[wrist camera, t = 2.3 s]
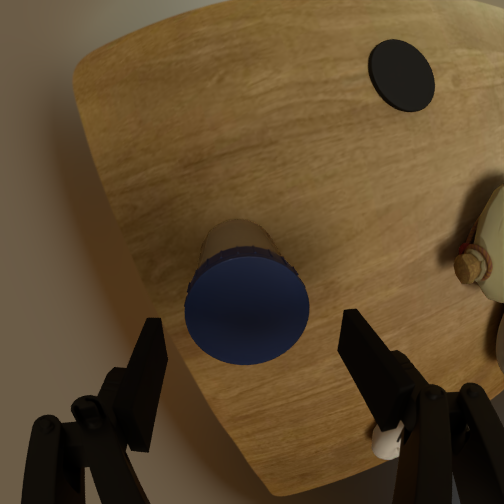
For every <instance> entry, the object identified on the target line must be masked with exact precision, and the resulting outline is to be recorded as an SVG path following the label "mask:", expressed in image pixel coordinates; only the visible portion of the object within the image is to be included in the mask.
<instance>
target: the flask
mask: <svg viewBox="0 0 504 504" xmlns="http://www.w3.org/2000/svg"><path fill="white" fill-rule="evenodd" d="M476 229H477V230H476ZM475 231H476V235H475V240H474V244H470V243H471V240H472V238H473V235H474V233H475ZM454 269H455V274H456V276H457V277H458V279H459V280H460V282H461V283H462V284H470V283H473V281H476V282H477V283H478V285H479V286H480V288H481V290H482V291H483V293H484V294H485V296H486V297H487V298H488V299H490V300H494V301H497V302H500V303H504V183H503V184H502V185H501V186H499V187H498V188H497V189H495V190H494V191H493V193H492V195H491V197H490V199H489V201H488V202H487V204H486V206H485V208H484V210H483V211H482V213H481V215H480V216H479V217H478V219H477V220H476V222H475V223H474V225H473V227H472V229H471V231H470V233H469V235H468V237H467V240H466V243H462V245H461V246H460V247H459V255H457V257H456V258H455V262H454Z"/></svg>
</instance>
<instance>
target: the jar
mask: <svg viewBox="0 0 504 504" xmlns="http://www.w3.org/2000/svg"><path fill="white" fill-rule="evenodd" d="M252 245H254V246H255V247H260V248H264V249H267V250H268V249H270V251H272V252H274V253H276V254H278V255H279V256H281V257H282V255H281V253H280V252H279V250H278V248H277V247H276V245H275V243H274V242H273V240H272V238H271V237H270V235H269V234H268V233H267V231H266V230H265V229H264V228H262V227H261V226H260V225H258V224H256V223H254V222H252V221H248V220H243V219H234V220H229V221H225V222H223V223H221V224H219V225H217V226H216V227H214V228H213V229H212V230H211V231H210V232H209V233H208V234H207V236H206V237H205V239H204V241H203V243H202V246H201V250H200V255H199V259H198V264H197V270H198V269H199V268H200V266H201V265H202V264H203V263H204V262H205V261H206V259H207V258H208V259H209V258H210V257H212V256H213V255H215V254H217V253H219V252H220V251H221V250H222V251H224V250H226V249H229V248H234V247H236V246H238V247H241V246H252Z"/></svg>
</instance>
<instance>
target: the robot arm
mask: <svg viewBox="0 0 504 504" xmlns="http://www.w3.org/2000/svg"><path fill="white" fill-rule="evenodd" d="M337 351H338V353H339V354H340V356H341V358H342V360H343V362H344V363H345V365H346V367H347V369H348V371H349V373H350V374H351V376H352V378H353V380H354V382H355V383H356V385H357V387H358V389H359V391H360V393H361V395H362V396H363V398H364V400H365V402H366V404H367V406H368V408H369V409H370V411H371V413H372V415H373V417H374V419H375V421H376V423H377V424H378V426H379V428H380V430H381V432H385V431H389V430H392V429H396V428H397V426H398V424H399V422H400V420H401V421H402V423H403V424H404V427H403V429H402V431H401V433H400V435H399V437H398V439H397V441H396V442H399V440H400V439H401V443H400V453H399V462H398V469H397V476H396V483H395V489H394V495H393V502H392V504H452V472H453V475H454V479H455V483H456V487H457V491H458V495H459V499H460V503H461V504H504V427H503V425H502V423H501V421H500V419H499V417H498V415H497V413H496V411H495V410H494V408H493V406H492V404H491V402H490V400H489V398H488V396H487V395H486V393H485V391H484V389H483V388H482V387H481V386H479V385H478V384H475V383H466V384H464V385H463V386H462V387H461V389H460V391H459V392H446V391H445V390H444V389H443V388H441V387H440V386H438V385H434V384H428V382H427V381H426V380H425V379H424V377H423V376H422V375H421V374H420V372H419V371H418V370H417V369H416V368H415V366H414V365H413V364H412V363H411V361H410V360H409V359H408V358H407V356H406V355H404V354H403V353H401V352H400V351H398V350H395V351H390V350H389V349H388V348H387V346H386V345H385V344H384V342H383V341H382V340H381V339H380V337H379V336H378V335H377V334H376V332H375V331H374V330H373V329H372V327H371V326H370V325H369V324H368V322H367V321H366V320H365V319H364V317H363V316H362V315H361V314H360V312H359V311H358V310H357V309H347V310H344V312H343V319H342V325H341V332H340V338H339V344H338V350H337ZM167 362H168V357H167V351H166V346H165V340H164V334H163V328H162V321H161V318H147V319H146V321H145V324H144V326H143V329H142V331H141V333H140V336H139V338H138V341H137V343H136V345H135V348H134V350H133V353H132V355H131V358H130V361H129V363H128V365H127V368H119V367H114V368H113V369H112V370H111V371H110V372H109V373H108V374H107V376H106V378H105V380H104V383H103V385H102V387H101V389H100V391H99V394H98V396H93V395H87V396H82V397H79V398H78V399H76V400H75V401H74V402H73V404H72V405H71V412H72V413H73V416H74V418H75V420H76V422H68V423H61V422H60V421H59V419H58V418H57V417H55V416H54V415H43V416H41V417H39V418H38V419H37V420H36V421H35V422H34V424H33V427H32V432H31V437H30V441H29V447H28V453H27V458H26V465H25V472H24V480H23V489H22V499H21V504H85V467H90V471H91V473H92V477H93V480H94V483H95V486H96V489H97V492H98V495H99V497H100V500H101V503H102V504H150V502H149V500H148V498H147V496H146V494H145V492H144V491H143V488H142V486H141V484H140V482H139V480H138V478H137V476H136V473H135V471H134V469H133V467H132V464H131V462H130V460H129V458H128V455H127V453H126V448H127V444H128V445H129V447H130V449H131V451H137V452H147V453H148V452H149V448H150V443H151V438H152V432H153V427H154V422H155V417H156V412H157V407H158V403H159V398H160V393H161V388H162V384H163V379H164V375H165V370H166V366H167ZM468 426H469V428H468ZM469 429H470V430H469Z"/></svg>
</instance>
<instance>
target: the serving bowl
mask: <svg viewBox="0 0 504 504" xmlns="http://www.w3.org/2000/svg"><path fill="white" fill-rule="evenodd" d="M496 357H497V362H498V365H499V367H500V369H501V371H502V372H503V374H504V314H503V317H502V319H501V322H500V326H499V329H498V333H497V339H496Z"/></svg>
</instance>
